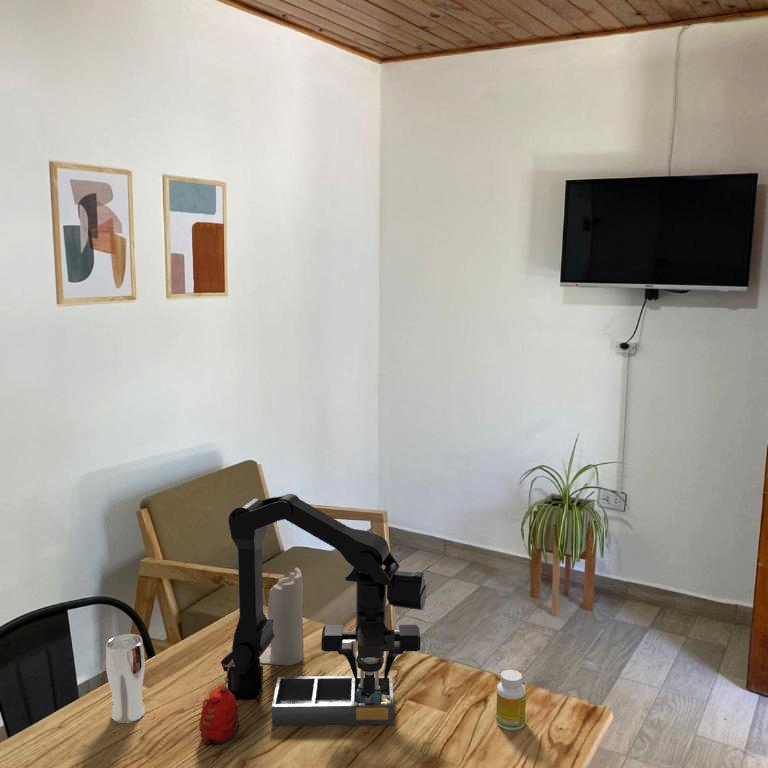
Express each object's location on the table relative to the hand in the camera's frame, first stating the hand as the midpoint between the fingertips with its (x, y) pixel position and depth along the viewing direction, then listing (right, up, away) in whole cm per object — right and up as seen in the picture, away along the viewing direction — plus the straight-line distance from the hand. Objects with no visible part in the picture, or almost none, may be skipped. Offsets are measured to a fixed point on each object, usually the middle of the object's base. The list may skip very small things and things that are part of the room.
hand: (370, 678), depth 152 cm
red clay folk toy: (-27, -8, -7) cm, 30 cm away
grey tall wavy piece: (-22, -3, +21) cm, 31 cm away
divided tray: (-7, -6, +1) cm, 10 cm away
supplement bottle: (+26, -7, -4) cm, 28 cm away
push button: (0, -5, +1) cm, 5 cm away
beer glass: (-47, -7, -1) cm, 47 cm away
